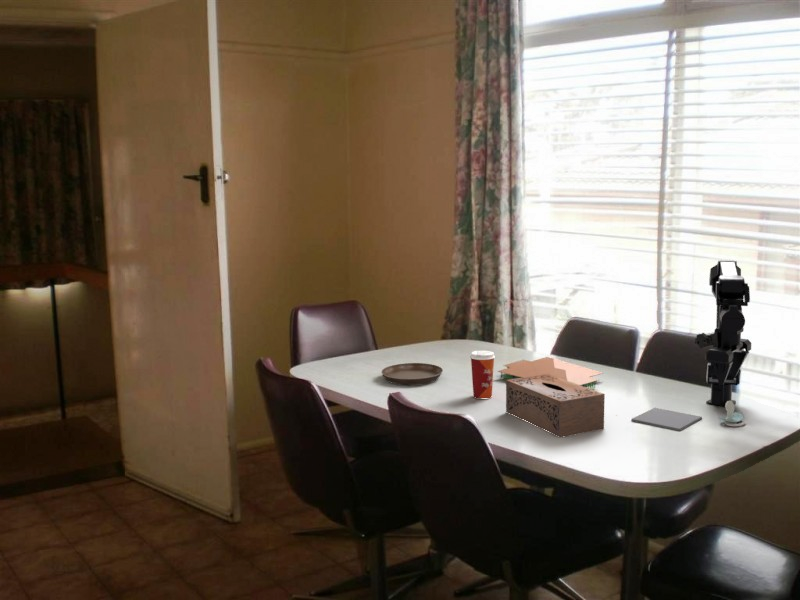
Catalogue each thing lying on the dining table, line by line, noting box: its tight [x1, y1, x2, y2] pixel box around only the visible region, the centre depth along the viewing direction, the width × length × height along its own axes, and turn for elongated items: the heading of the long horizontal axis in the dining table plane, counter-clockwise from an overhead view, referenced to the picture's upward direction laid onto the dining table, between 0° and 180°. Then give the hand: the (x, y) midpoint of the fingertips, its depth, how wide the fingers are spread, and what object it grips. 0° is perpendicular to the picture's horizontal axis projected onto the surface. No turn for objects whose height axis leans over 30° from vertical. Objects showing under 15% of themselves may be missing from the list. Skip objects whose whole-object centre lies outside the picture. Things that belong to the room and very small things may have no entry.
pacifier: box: [717, 401, 747, 427], centre depth 231 cm, size 7×6×6 cm
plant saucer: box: [381, 362, 444, 386], centre depth 286 cm, size 21×21×3 cm
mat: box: [631, 407, 703, 431], centre depth 236 cm, size 14×14×1 cm
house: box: [497, 356, 604, 390], centre depth 279 cm, size 23×33×8 cm
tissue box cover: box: [505, 374, 606, 438], centre depth 237 cm, size 26×14×10 cm, turn 26°
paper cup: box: [469, 350, 496, 399], centre depth 261 cm, size 8×8×14 cm
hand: (727, 380), depth 230 cm, fingers open, 9 cm apart
